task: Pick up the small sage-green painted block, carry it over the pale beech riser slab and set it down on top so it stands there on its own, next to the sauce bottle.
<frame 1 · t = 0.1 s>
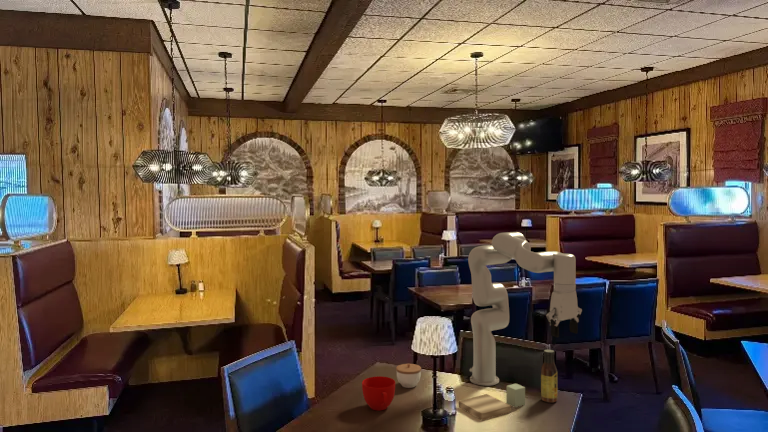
hand: (564, 334, 200), 31 cm above the table, tool pointing down, fingers open, 9 cm apart
green block: (515, 404, 216), on the table
lidded jar: (408, 385, 237), on the table
riser block: (484, 411, 211), on the table
sauce bottle: (549, 400, 219), on the table
ceramic cup: (380, 409, 212), on the table
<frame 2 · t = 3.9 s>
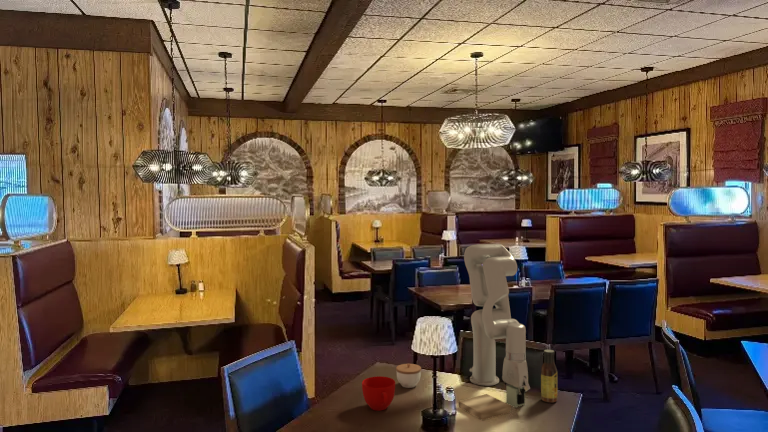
hand: (515, 400, 216), 1 cm above the table, tool pointing down, fingers closed on green block, 5 cm apart
green block: (515, 404, 216), on the table, touching gripper
everything else where it was.
when the fingers open (5 cm above the table, at t = 8.5 s): green block drops 1 cm, resting on riser block.
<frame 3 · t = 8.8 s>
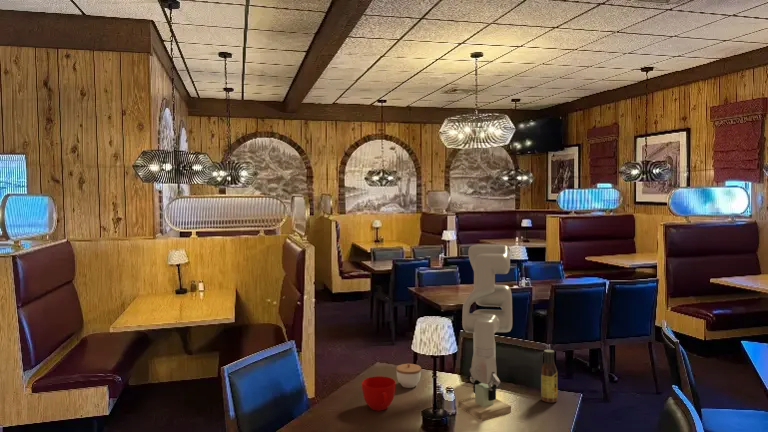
hand: (484, 395, 210), 5 cm above the table, tool pointing down, fingers open, 8 cm apart
green block: (484, 403, 210), point 2 cm above the table, touching riser block
riser block: (484, 411, 211), on the table, touching green block
everything else where it was.
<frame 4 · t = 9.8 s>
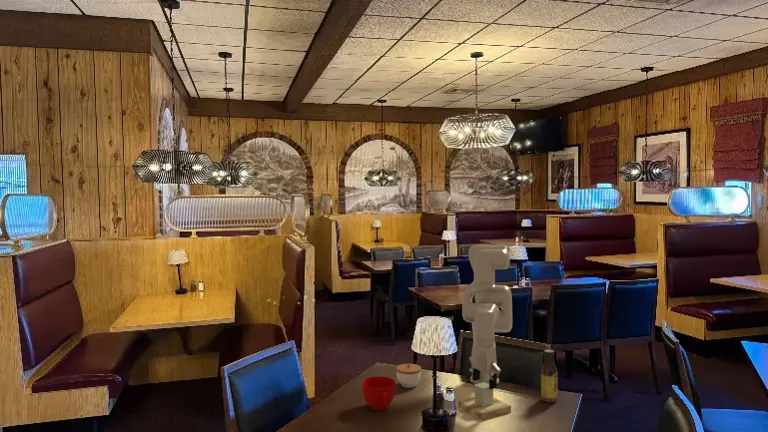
hand: (484, 384, 211), 10 cm above the table, tool pointing down, fingers open, 9 cm apart
green block: (483, 403, 211), point 2 cm above the table
riser block: (484, 411, 211), on the table
everything else where it was.
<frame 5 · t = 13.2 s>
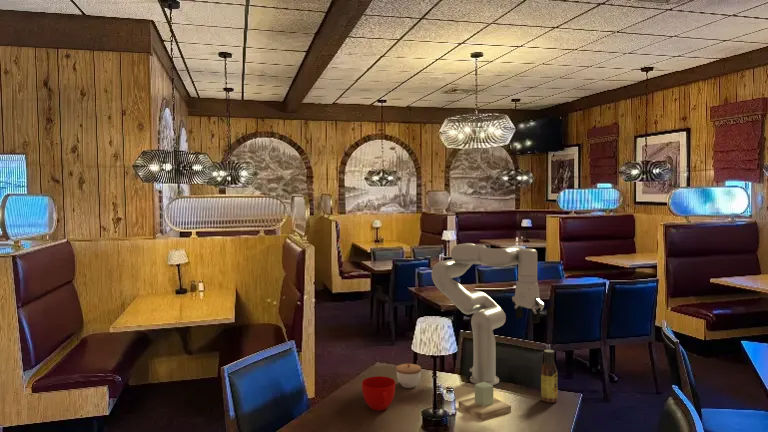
hand: (527, 320, 225), 30 cm above the table, tool pointing down, fingers open, 9 cm apart
nothing on the table moved.
at the end: green block inside the target area on the riser block (0.4 cm from its centre), point 3.0 cm above the riser block's base; green block tilted 1°; the gripper is holding nothing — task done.
